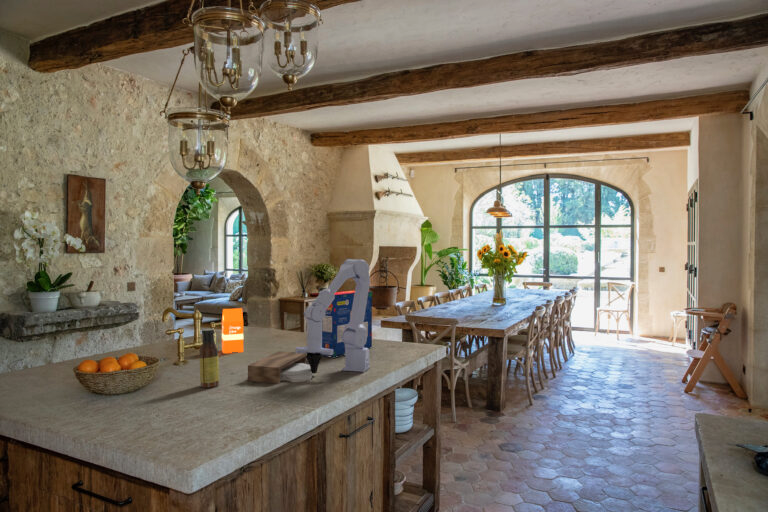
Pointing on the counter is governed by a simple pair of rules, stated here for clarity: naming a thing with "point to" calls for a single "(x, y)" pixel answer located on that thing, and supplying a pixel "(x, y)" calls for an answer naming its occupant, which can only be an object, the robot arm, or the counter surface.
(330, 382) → the counter surface
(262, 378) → the brown slab
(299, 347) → the robot arm
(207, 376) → the sauce bottle
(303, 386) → the counter surface
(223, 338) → the orange juice
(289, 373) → the lid
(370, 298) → the pasta box
